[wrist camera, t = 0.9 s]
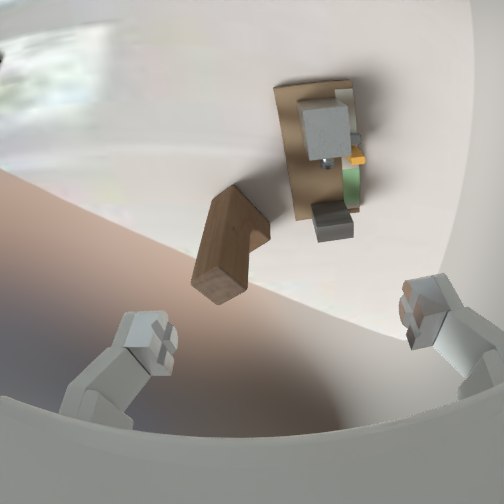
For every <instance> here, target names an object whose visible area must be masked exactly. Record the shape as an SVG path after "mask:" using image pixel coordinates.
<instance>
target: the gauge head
mask: <svg viewBox="0 0 504 504" xmlns="http://www.w3.org/2000/svg"><path fill="white" fill-rule="evenodd" d="M296 102H297V108H298V114H299V121H300V127H301V134H302V141H303V145H304V148H305V150H306V153H307V155H308V158H309V160H310V161H311V160H319V159H320V167H321V168H322V169H332V168H334V158H335V157H344V156H352V154H351V144H361V135H360V134H359V133H358V132H356V133H350V127H349V116H348V106H346V105H345V104H344V103H342V102H341V101H340V100H338V99H337V98H335V97H331V98H320V99H311V100H303V101H296Z"/></svg>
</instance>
